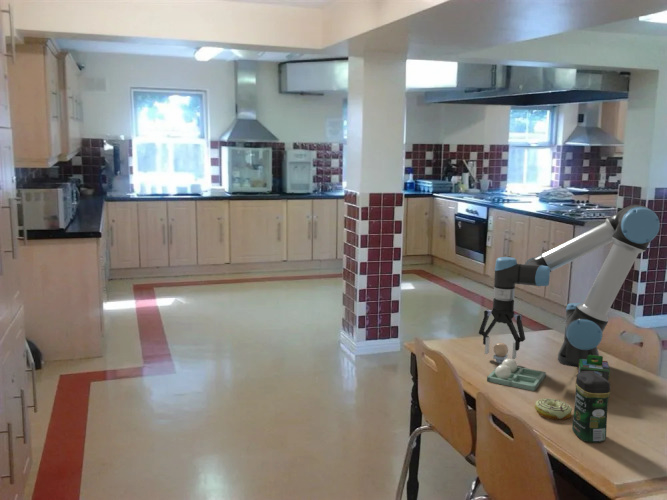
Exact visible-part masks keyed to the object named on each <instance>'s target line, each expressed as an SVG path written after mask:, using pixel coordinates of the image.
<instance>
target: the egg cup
mask: <svg viewBox="0 0 667 500" xmlns="http://www.w3.org/2000/svg"><path fill="white" fill-rule="evenodd" d="M492 357H493V358H492V359H495V363H497V364H502V362H503V361H504V360H505V359H508V354H507V355H506V356H504V357H499V356H497V355H495V354H494V355H493V356H492Z"/></svg>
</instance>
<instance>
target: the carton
mask: <svg viewBox="0 0 667 500" xmlns="http://www.w3.org/2000/svg"><path fill="white" fill-rule="evenodd" d="M499 365H502V363H499ZM495 370H496V368H494V370H493V371H491V372H490V373H489V375H488V376H487V377H486V382H489V383H494V384H498V385H503V386H506V387H507V386H508V387H513V388H516V389H521V390H526V391H527V390H528V391H533V392H535V391H536V390H537V388H538V387H539V385H540V384H541V383H542V381H543V380H544V379H545V378H546V374H547V373H546V371H543V370H536V369H531V368H526V367H521V366H517V369H516V371H515V372H514V373H511V376H510V378H509V379H507V380H505V379H500V378H497V376H496V374H495Z"/></svg>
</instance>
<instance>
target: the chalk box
mask: <svg viewBox="0 0 667 500" xmlns="http://www.w3.org/2000/svg"><path fill="white" fill-rule="evenodd" d="M592 358H597V359H598V360H591V359H592ZM603 358H604V357H603V355H599V356H598V355H588V357H587V359H579V368H578V370H577V371H578V373H577V375H578V374H579V373H580V372H581V371H594V372H595V373H597V374H599V375H601V376H602V377H603V378H605V379H606V380H607V381H609V382H610V375H611V372H610V371H611V370H610V366H609V362H608V360H604V359H603Z"/></svg>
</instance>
